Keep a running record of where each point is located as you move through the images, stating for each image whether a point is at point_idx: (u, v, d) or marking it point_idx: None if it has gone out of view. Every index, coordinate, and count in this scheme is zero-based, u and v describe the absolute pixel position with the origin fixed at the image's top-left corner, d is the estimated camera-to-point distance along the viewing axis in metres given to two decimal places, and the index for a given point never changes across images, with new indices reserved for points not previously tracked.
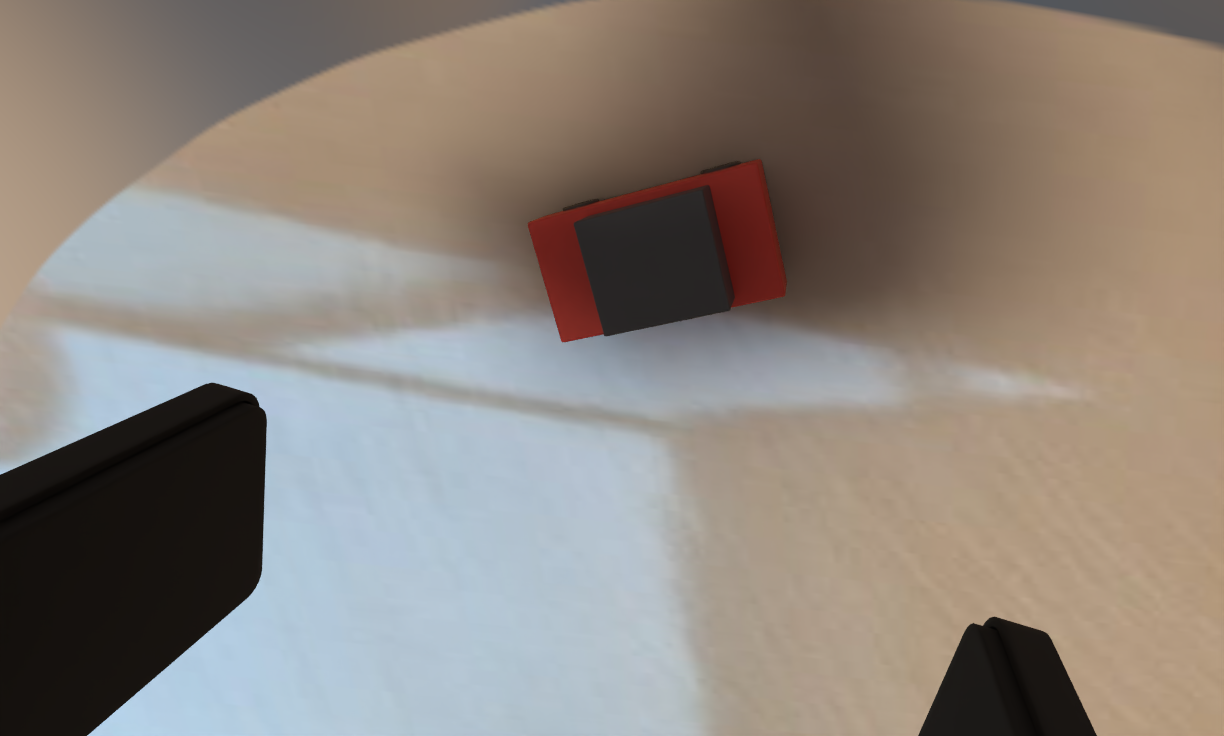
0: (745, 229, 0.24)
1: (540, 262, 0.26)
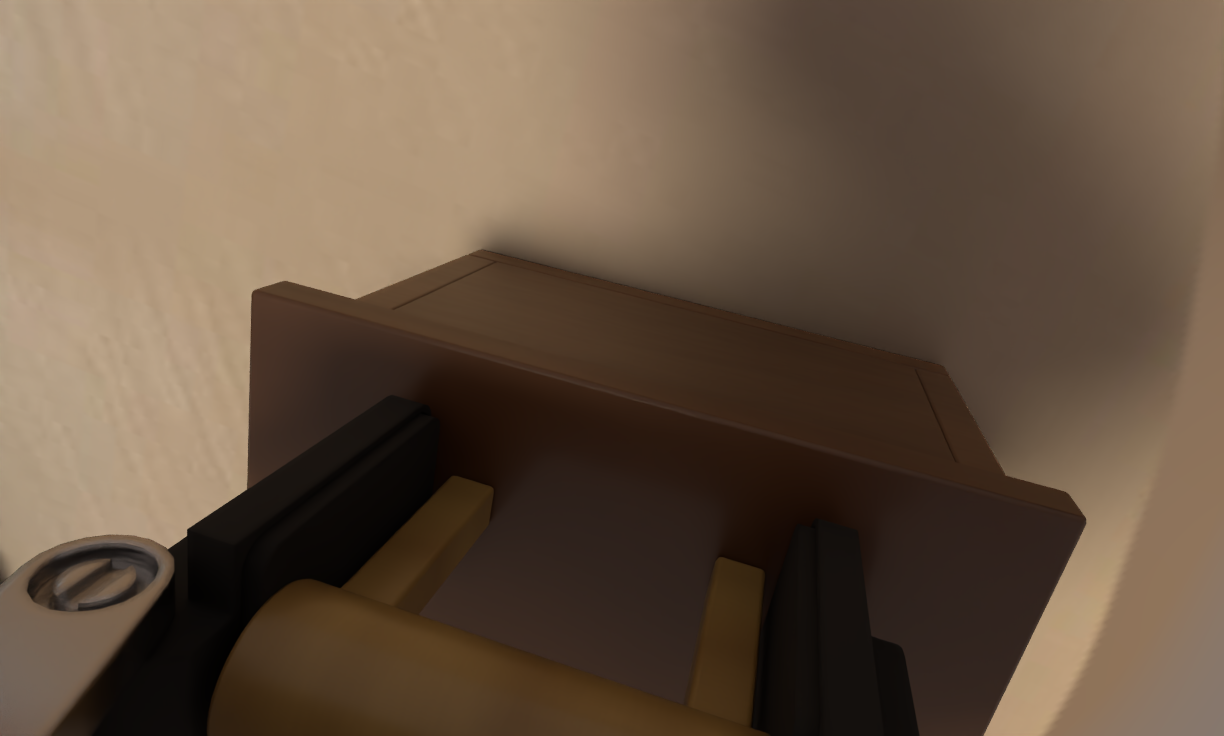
0: None
1: None
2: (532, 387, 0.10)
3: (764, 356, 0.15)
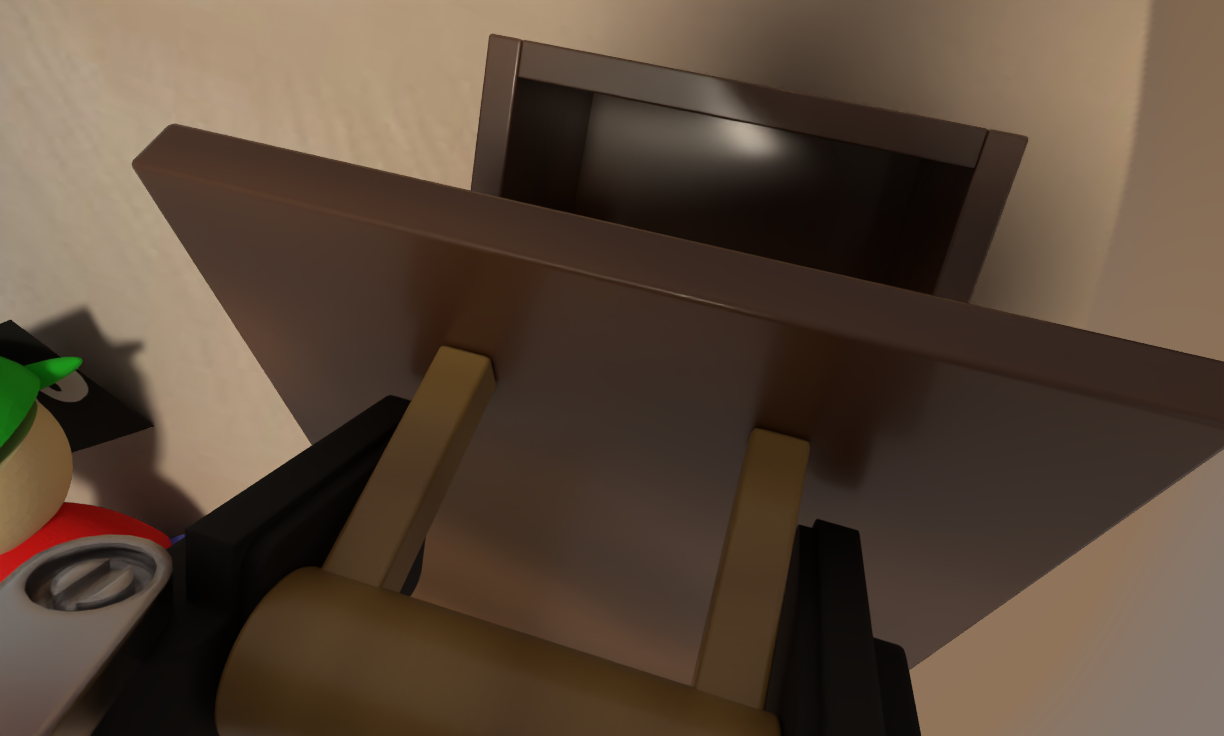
0: None
1: None
2: (499, 270, 0.08)
3: None
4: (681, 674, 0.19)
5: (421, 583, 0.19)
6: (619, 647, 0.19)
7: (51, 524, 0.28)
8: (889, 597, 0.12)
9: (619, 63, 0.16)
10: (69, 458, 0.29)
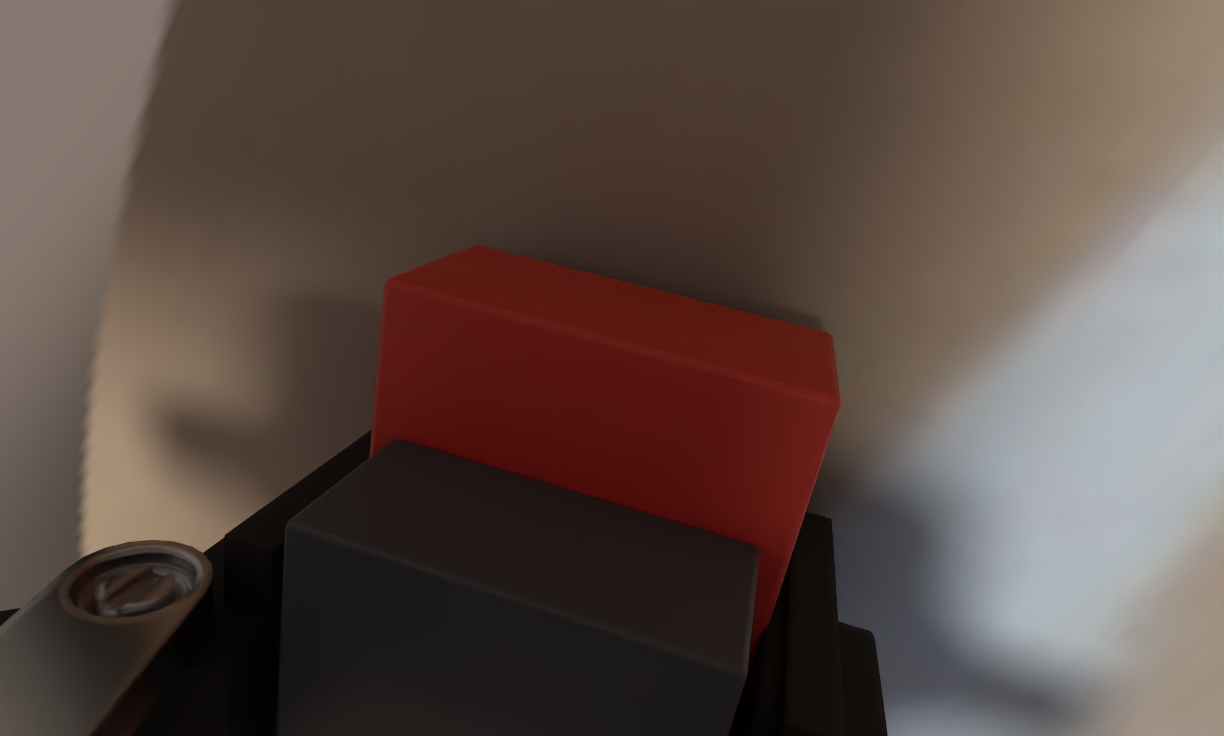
0: (562, 407, 0.07)
1: None
2: None
3: None
4: None
5: None
6: None
7: None
8: None
9: None
10: None
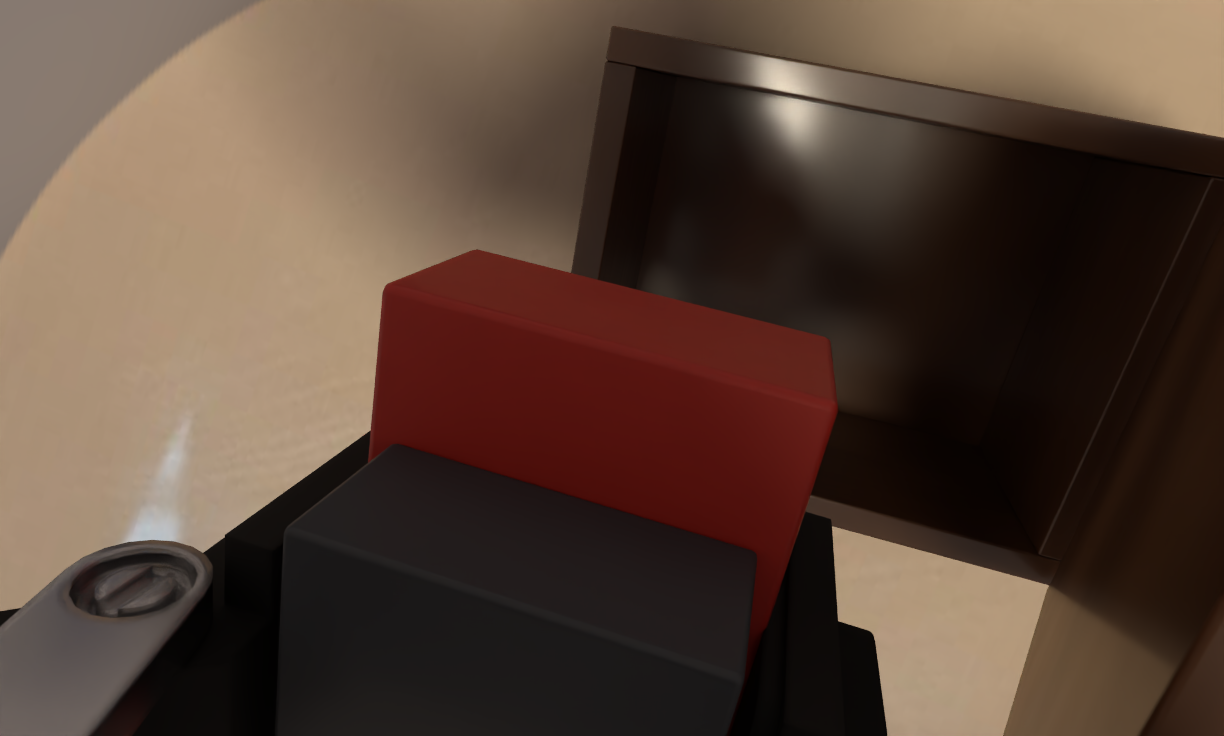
0: (560, 413, 0.07)
1: None
2: None
3: None
4: None
5: None
6: None
7: None
8: None
9: None
10: None
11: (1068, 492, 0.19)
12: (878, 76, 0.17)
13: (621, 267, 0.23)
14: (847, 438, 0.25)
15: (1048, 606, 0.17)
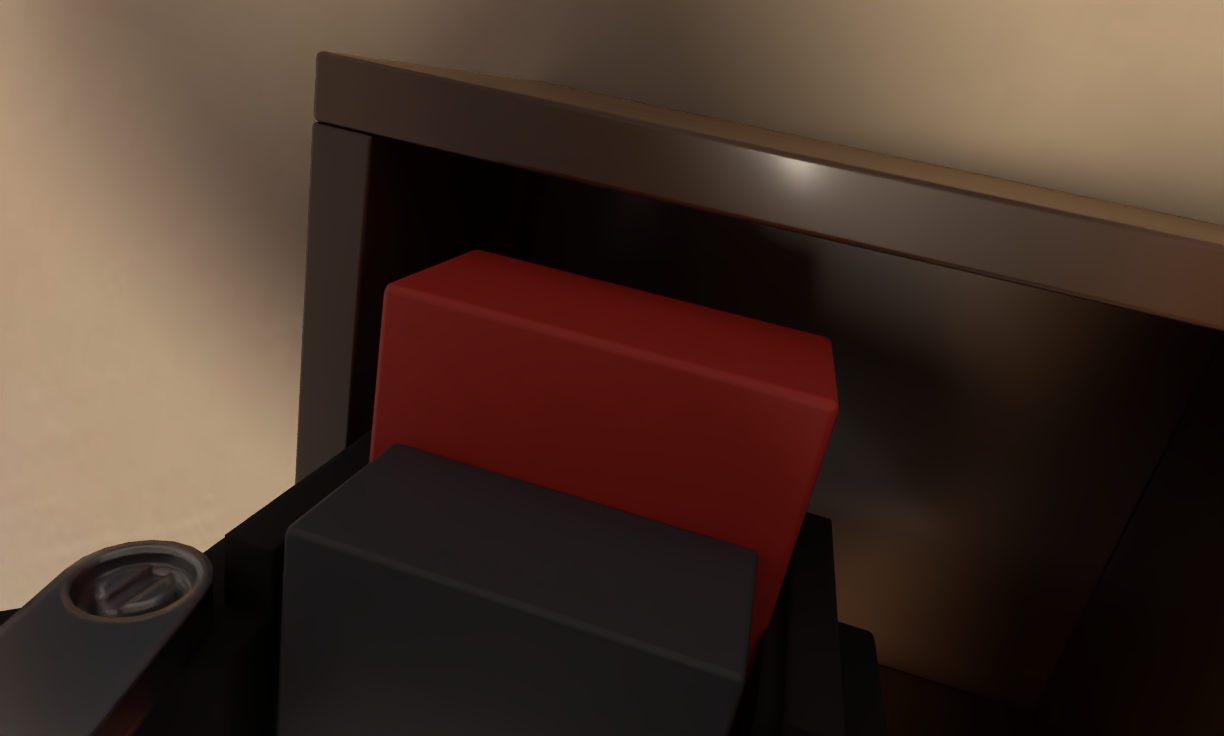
0: (561, 413, 0.07)
1: None
2: None
3: None
4: None
5: None
6: None
7: None
8: None
9: None
10: None
11: None
12: (870, 173, 0.08)
13: None
14: None
15: None
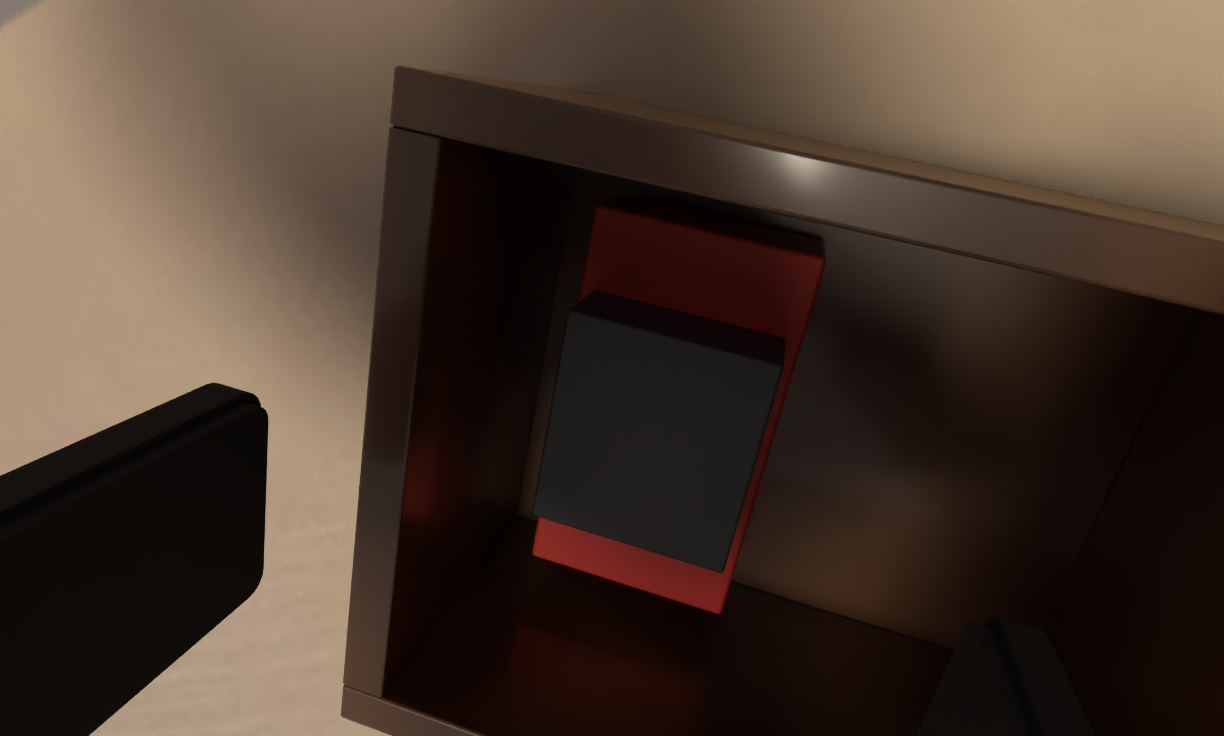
0: (685, 269, 0.14)
1: (591, 571, 0.17)
2: None
3: None
4: None
5: None
6: None
7: None
8: None
9: (355, 586, 0.13)
10: None
11: None
12: (871, 170, 0.09)
13: (480, 425, 0.15)
14: (827, 673, 0.17)
15: None
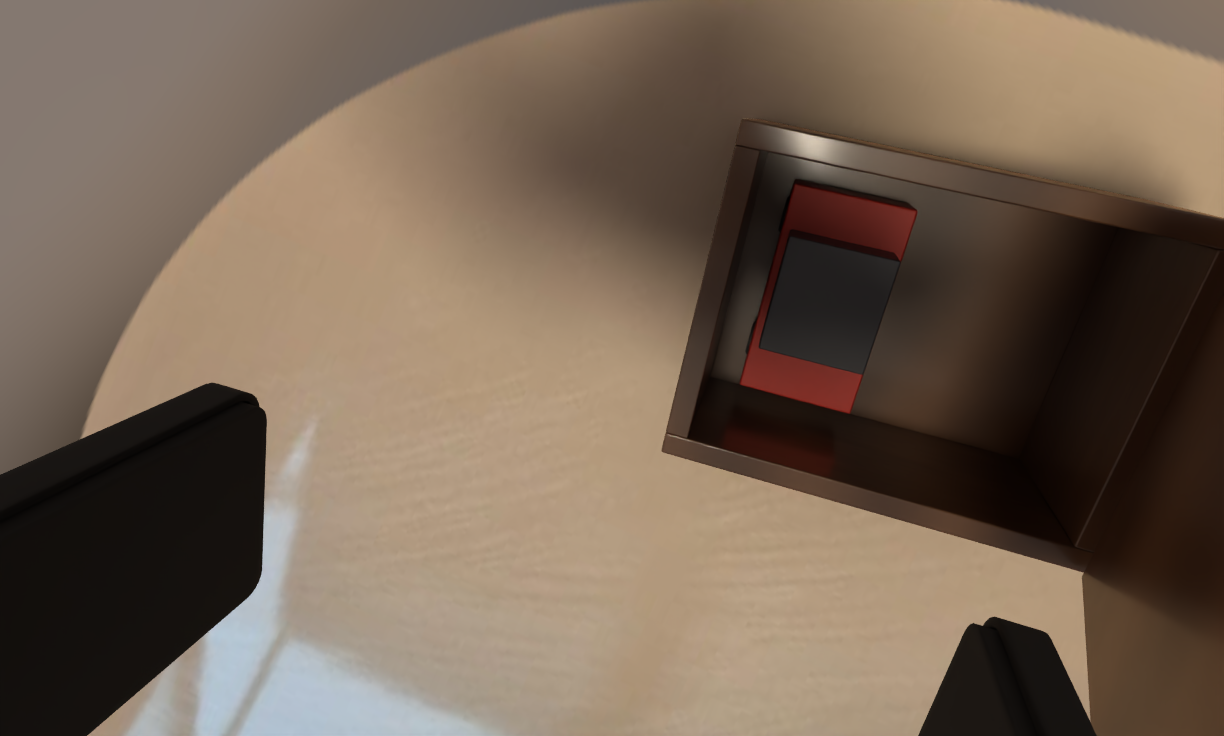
0: (842, 217, 0.27)
1: (775, 392, 0.30)
2: None
3: None
4: None
5: None
6: None
7: None
8: None
9: (682, 374, 0.26)
10: None
11: (1100, 496, 0.24)
12: (955, 164, 0.22)
13: (725, 303, 0.28)
14: (908, 449, 0.30)
15: (1099, 591, 0.22)
